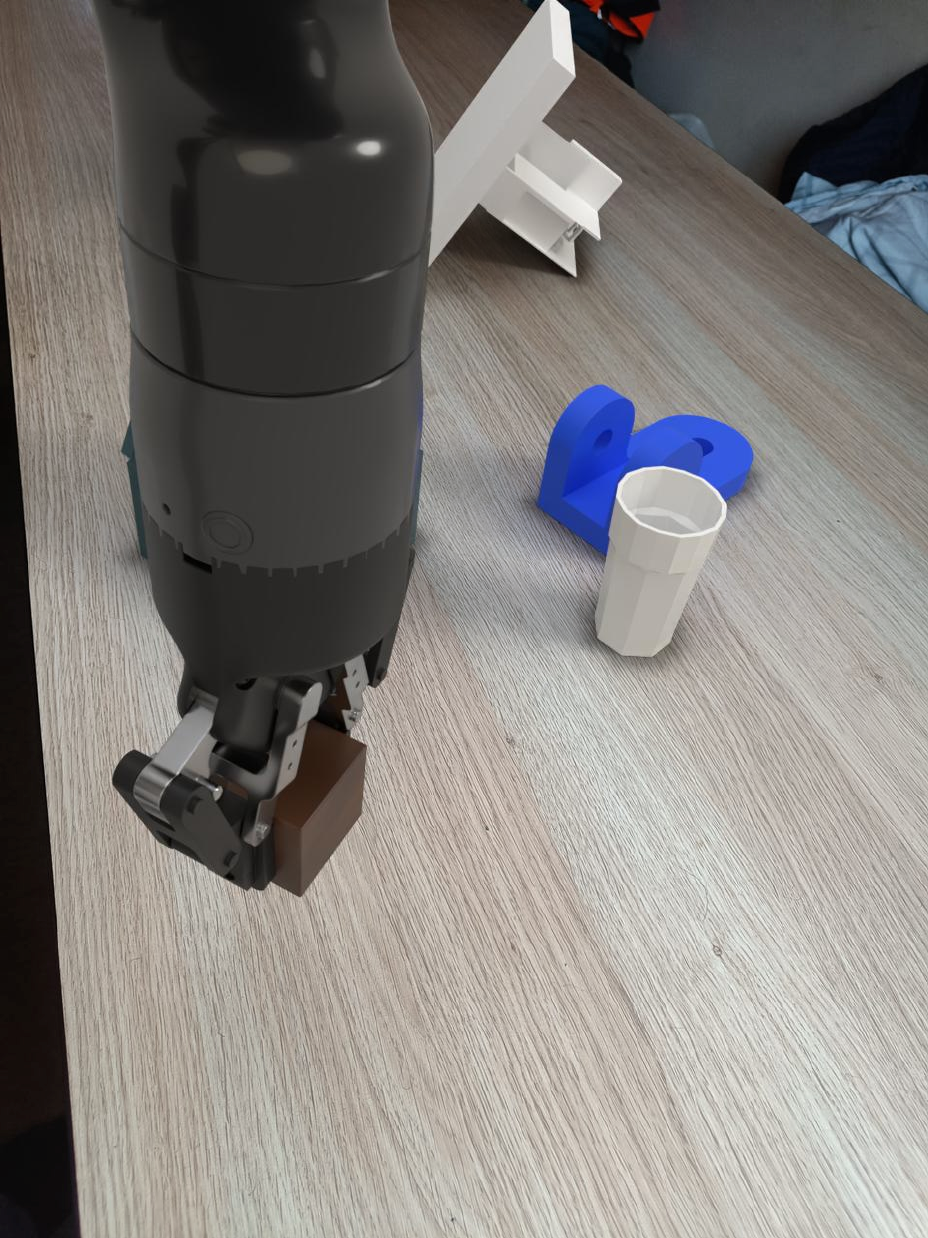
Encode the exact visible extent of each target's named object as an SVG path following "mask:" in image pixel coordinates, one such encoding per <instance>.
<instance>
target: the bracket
mask: <svg viewBox="0 0 928 1238" xmlns="http://www.w3.org/2000/svg"><path fill="white" fill-rule="evenodd" d="M635 421H636V409H635V405H634V403H633V402H632V401H631V400H630V399H628V398H627V397H625V396H623V395H622V394H621V393H619V392H618V391H615V390H614V389H613V388H611V387H609V386H608V385H606V384H595V385H592V386H590V387H588V388H586V389H584V390H583V391H582V392H580V393H579V394H578V395H577V396H576V397H574V398H573V400H572V401H570V402H569V404H568V405H567V407H566V408H565V409H564V410H563V411H562V413H561V415H560V416H559V418H558V420H557V422H556V423H555V425H554V428H553V430H552V432H551V435H550V438H549V441H548V445H547V451H546V456H545V460H544V461H545V462H544V467H543V471H542V477H541V481H540V486H539V490H538V491H539V492H538V496H537V497H538V498H537V502H536V506H537V507H538V508H539V509H540V510H541V511H544V513H546V514H548V515H549V516H550V517H551V518H553V519H554V520H556V521H557V522H558V523H560V524H561V525H563V526H564V527H566V528H567V529H568V530H570V531H571V532H572V533H573V534H575V535H577V536H578V537H579V538H581V539H582V540H583V541H585V542H586V543H587V544H589V545H590V546H592V547H593V548H594V549H596V550H597V551H598V552H600V553H601V554H603V555H604V556H605V557H607V552H608V546H609V541H610V538H609V535H608V534H609V529H610V524H611V519H612V514H613V509H614V504H615V499H616V494H617V489H618V484H619V482H620V481H621V480H622V479H623V478H624V476H625V475H626V474H627V473H629V472H632V471H635V470H638V469H641V468H645V467H657V466H665V467H670V468H675V469H679V470H684V471H686V472H689V473H691V474H694V475H696V476H698V477H701V478H703V479H705V480H706V481H707V482H708V483H709V484H710V485H712V486H713V487H714V488H715V489H716V490H717V491H718V492H719V493H720V495H721V496H722V498H723V499H724V501H725V502H726V501H727V500H728V499H730V498H731V497H733V496H735V495H736V494H738V493H739V492H740V491H742V489H743V488H744V486H745V483H746V482H747V481H746V480H747V477H748V476H749V472H750V470H751V468H752V465H753V462H754V451H753V447H752V445H751V444H750V442H749V441H748V440H747V438H746V437H745V436H744V435H743V434H742V433H740V432H739V431H738V430H737V429H735V428H734V427H731V426H730V425H728V424H726V423H724V422H721V421H719V420H717V419H714V418H710V417H707V416H702V415H695V414H675V415H670V416H667V417H664V418H660V419H658V420H657V421H655V422H654V423H652V424H650V425H647V426H646V427H644V428H642V429H640V430H639V431H636V432H634V433H633V429H634V425H635ZM632 433H633V434H632Z"/></svg>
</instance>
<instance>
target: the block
mask: <svg viewBox="0 0 928 1238" xmlns="http://www.w3.org/2000/svg"><path fill="white" fill-rule="evenodd" d="M367 752H368V745H367V744H366V743H364V742H362V741H360V740H359V739H356V738H353V737H352V736H351V735H350V736H348V735H346V734H343V733H341V732H339V731H337V730H335V729H333V728H331V727H329V726H327V725H325V724H323V723H321V722H319V721H317V720H315V719H313V718H312V719H311V720H310V721H308V724H307V729H306V733H305V738H304V742H303V747H302V752H301V756H300V761H299V766H298V770H297V775H296V778H295V780H294V781H293V782H292V783H290V784H289V785H288V786H287V787H286V788H285V789H284V790H283V791H281V792H280V793H279V794H278V798H277V803H276V808H275V813H274V817H273V822H272V824H274V845H275V877H274V878H273V879H272V881H271V882H270V883H272V884H274V885H275V886H278V887H279V888H281V889H283V890H285V891H287V892H288V893H291V894H292V895H294V896H296V897H298V898H302V897H303V896H304V894H305V893H306V891H307V890H308V889H309V888H310V886H311V885H312V883H313V882H314V881H315V879H316V878H317V876H318V875H319V873H320V872H321V871H322V870H323V868H324V867H325V865H326V864H327V863H328V862H329V860H330V858H331V857H332V856H333V855H334V853H335V852H336V850H337V849H338V847H339V846H340V845H341V843H342V842H343V840H344V839H345V838H346V837H347V835H348V834H349V833H350V831H351V830H352V829H353V827H354V825H355V824H356V823H357V821H358V820H359V818H360V817H361V816H362V814H363V805H364V803H363V802H364V789H365V778H366V764H367V754H368V753H367ZM265 753H267V754H269V755H270V751H269V752H265ZM227 789H228V790H230V791H231V792H233V793H235V794H237V795H239V796H241V797H243V798H245V799H247V800H248V794H247V792H246V791H245V790H244V789H243V788H242V787H240V786H238V785H236V784H234V783H232V782H230V781H228V784H227Z"/></svg>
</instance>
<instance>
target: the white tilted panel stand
mask: <svg viewBox="0 0 928 1238" xmlns="http://www.w3.org/2000/svg"><path fill="white" fill-rule="evenodd" d="M570 18H571V17H570V11H569V10H568V9H567V8H566V7H565V6H564V5H562V3H560V2H559V1H558V0H544V1H543V2H542V3H541V5H540V6H539V8H538V9H537V11H536V12H534V15H533V16H532V18H530V20H529V22H528V23H527V25H526V26H525V27H524V28H523V30H522V31H521V33H520V34H519V36H518V37H517V38H516V40H515V41H514V43H513V44H512V45H511V47H510V48H509V49H508V51H507V52H506V54H505V55H504V57H503V58H502V60H501V61H500V62H499V64H498V65H497V67H495V69H494V71H493V72H492V74H491V75H490V76H489V77H488V79H487V81H485V83H484V84H483V86H482V87H481V89H480V90H479V92H478V93H477V94H476V96H475V97H474V98H473V100H472V101H471V103H470V104H469V105H468V107H467V108H466V110H465V111H464V112H463V114H462V115H461V116H460V118H459V119H458V121H457V122H456V123H455V125H454V126H453V128H452V129H451V130H450V132H449V133H448V135H447V136H446V138H445V139H444V140H443V142H442V143H441V145H439V147H438V149H437V150H436V152H434V156H435V190H434V207H433V220H432V229H431V232H432V233H431V243H430V254H429V264H428V269H429V267H430V266H431V265H433V264H432V263H433V262H434V261H435V260H436V258H437V257H439V255H440V254H441V252H442V251H443V250H444V248H445V247H446V246H447V244H448V243H449V242H450V241H451V240H452V238H453V237H454V235H455V234H456V233H457V232H458V230H459V229H460V227H461V226H462V225H463V224H464V222H465V221H466V220H467V218H469V216H470V215H471V214H472V212H473V211H474V209H475V208H476V207H477V205H480V206H482V207H483V208H484V209H485V211H486V212H487V213H489V214H490V215H492V217H494V218H495V219H497V220H498V221H500V222H501V223H502V224H503V225H505V226H506V227H508V229H510V230H511V231H513V232H514V233H516V234H517V235H518V236H519V237H521V238H522V239H524V240H525V241H526V242H527V243H528V244H530V245H531V246H532V247H534V248H535V249H537V250H538V251H539V252H540V253H542V254H543V255H545V256H546V257H547V258H549V259H550V260H551V261H552V262H554V263H555V264H556V265H558V266H559V267H560V268H562V269H563V270H565V272H567V273H569V274H570V275H572V277H574V278H575V279H576V278H577V276H578V275H577V266H576V265H577V264H576V252H575V240H576V239H577V237H579V235H581V233H582V232H583V231H585V232H586V233H587V234H589V235H590V236H591V237H593V238H594V239H595V240H596V241H598V242H600V241H601V239H602V237H601V230H600V221H599V213H598V212H599V211H600V210H601V208H602V207H603V206H604V205H605V203H606V202H608V200H609V199H610V198H611V196H612V195H613V194H614V193H615V192H616V191H617V189H618V188H620V186H621V185H622V184H623V179H622V178H621V177H620V176H619V175H618V174H617V173H615V172H614V171H613V170H612V169H611V168H609V167H608V166H606V164H604V163H603V162H602V161H600V160H599V159H598V157H595V155H593V154H592V153H591V152H590V151H588V149H586V148H585V147H583V146H582V145H581V144H580V143H579V142H577V141H576V140H575V139H571V140H570V142H569V141H567V140H566V139H565V138H563V137H562V136H561V135H559V134H558V133H557V132H556V131H555V130H554V129H552V128H551V127H550V126H549V125H547V123H545V122H543V121H544V119H545V117H546V116H547V115H548V114H549V113H550V111H551V110H552V109H553V107H554V106H555V105H556V104H557V102H558V101H559V100H560V98H561V97H562V96H563V94H564V93H565V92H566V90H567V89H568V88H569V86H570V85H571V84H572V82H573V81H574V80H575V79H576V67H575V57H574V48H573V47H574V46H573V38H572V27H571V19H570Z"/></svg>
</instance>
